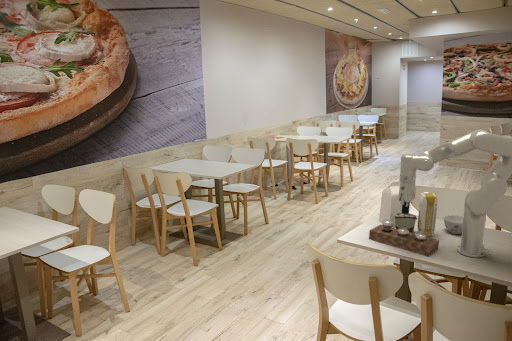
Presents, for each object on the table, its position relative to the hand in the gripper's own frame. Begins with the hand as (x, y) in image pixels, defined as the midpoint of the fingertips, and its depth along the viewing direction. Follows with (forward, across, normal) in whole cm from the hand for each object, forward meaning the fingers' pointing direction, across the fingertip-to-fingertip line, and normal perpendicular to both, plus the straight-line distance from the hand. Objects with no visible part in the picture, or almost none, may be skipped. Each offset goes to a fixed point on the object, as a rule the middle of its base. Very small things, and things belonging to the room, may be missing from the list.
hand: (405, 213), depth 207 cm
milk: (+17, +26, +18) cm, 36 cm away
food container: (+17, +18, +8) cm, 26 cm away
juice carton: (+17, +22, -3) cm, 28 cm away
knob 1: (+13, 0, +9) cm, 16 cm away
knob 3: (+15, 0, -9) cm, 18 cm away
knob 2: (+15, 0, 0) cm, 16 cm away
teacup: (+17, +36, -15) cm, 42 cm away
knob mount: (+17, 0, 0) cm, 17 cm away
